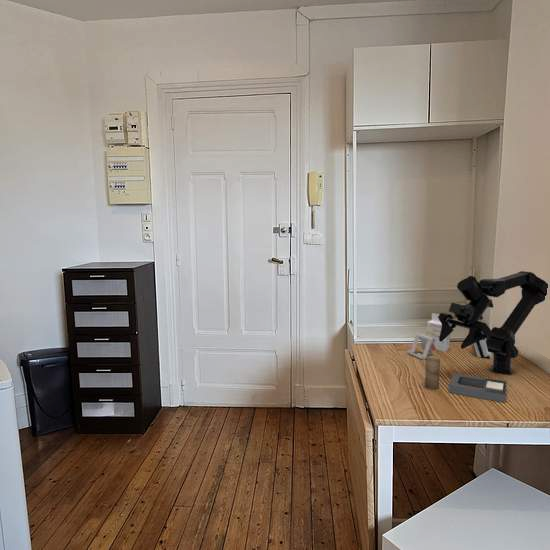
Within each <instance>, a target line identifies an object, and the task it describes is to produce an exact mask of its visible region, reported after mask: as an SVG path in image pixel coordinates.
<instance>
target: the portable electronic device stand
mask: <svg viewBox="0 0 550 550" xmlns="http://www.w3.org/2000/svg"><path fill="white" fill-rule="evenodd" d="M419 341H420V344H421V346H422V350H423V353H420V352H417V353H415V351H416V348H417V346H418V343H419ZM435 341H436V340H435V338H432V337H429V336H427V334H426V335H425V334H422V333H421V332H418V333H416V334H415V337H414V341H413V343H412V346H411V349H409V348H407V351H406V352H407V354H408V355H410V356H413V357H414V358H415V357H416V358H418V359H420V360H422V361H426V357H427V356H428V354H429V356H434V354H433V349H431V347H430V345H431V343H435Z"/></svg>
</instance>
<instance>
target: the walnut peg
mask: <svg viewBox="0 0 550 550" xmlns="http://www.w3.org/2000/svg"><path fill="white" fill-rule="evenodd" d="M440 371H441V358H440V357H439V356H436V355H433V356H432V355H427V356H426V359H425V375H424V376H425V377H424V379H425V380H424V381H425V382H424V386H425V388H426V389H429V390H438V389H439V388H440V373H441V372H440Z"/></svg>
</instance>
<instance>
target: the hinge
mask: <svg viewBox="0 0 550 550" xmlns="http://www.w3.org/2000/svg"><path fill="white" fill-rule="evenodd" d="M473 347H474V350H475V354H476V357H477V358H478V357H480V358H482V357H484V358H486V357H489V359H490V360H492V359H493V353H491V352H488V349H487V345H486V338H485V340H481V341H478V342H476V343H474V344H473ZM480 358H479V359H480Z"/></svg>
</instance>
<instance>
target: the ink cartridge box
mask: <svg viewBox="0 0 550 550" xmlns="http://www.w3.org/2000/svg"><path fill="white" fill-rule="evenodd" d="M439 315H440V313H434V312H433V313H431V320H428V321H427V322H426V324H427V325H426V336H429V337H432V338H435V340H436V341H435V343H431V345H430V347H431V350H436V351H439V352H447V351H448V350H450V345H451V344H450V338H451V333H450V334H449V335H448V336H447V337H446V338H445V339H444V340H443V341H441V342H440V341H439V337H440V333H441V328H442V324H441V322H440V321H439V319H438V318H437V317H438V316H439Z"/></svg>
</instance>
